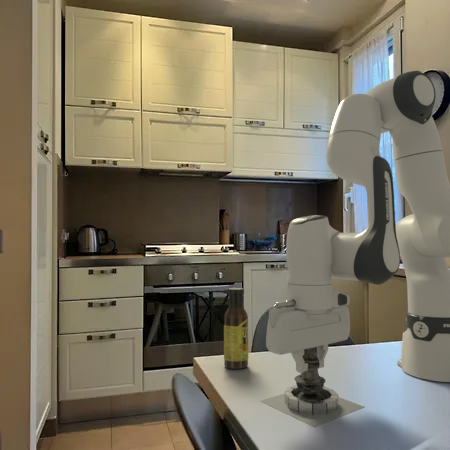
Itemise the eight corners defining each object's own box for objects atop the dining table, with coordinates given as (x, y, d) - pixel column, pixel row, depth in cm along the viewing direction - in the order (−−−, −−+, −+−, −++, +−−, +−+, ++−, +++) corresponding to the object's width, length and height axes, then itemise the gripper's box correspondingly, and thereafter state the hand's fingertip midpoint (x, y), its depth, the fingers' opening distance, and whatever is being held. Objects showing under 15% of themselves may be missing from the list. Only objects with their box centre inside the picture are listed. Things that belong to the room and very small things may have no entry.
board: (309, 388, 88) (309, 385, 88) (364, 409, 77) (364, 406, 77) (260, 404, 80) (260, 400, 80) (314, 430, 69) (314, 426, 69)
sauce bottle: (247, 370, 101) (247, 290, 102) (222, 370, 101) (222, 289, 102) (249, 363, 107) (248, 287, 108) (225, 362, 108) (224, 287, 109)
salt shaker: (326, 405, 75) (325, 339, 76) (293, 402, 77) (293, 338, 77) (325, 393, 81) (324, 332, 81) (295, 391, 82) (295, 331, 83)
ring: (309, 390, 85) (309, 381, 86) (348, 405, 77) (348, 395, 78) (274, 401, 80) (274, 391, 80) (313, 419, 72) (313, 408, 72)
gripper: (281, 305, 71) (282, 385, 70) (355, 295, 83) (356, 364, 82) (258, 300, 76) (258, 375, 75) (330, 292, 88) (331, 357, 87)
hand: (310, 369), depth 79 cm, fingers closed on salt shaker, 3 cm apart
